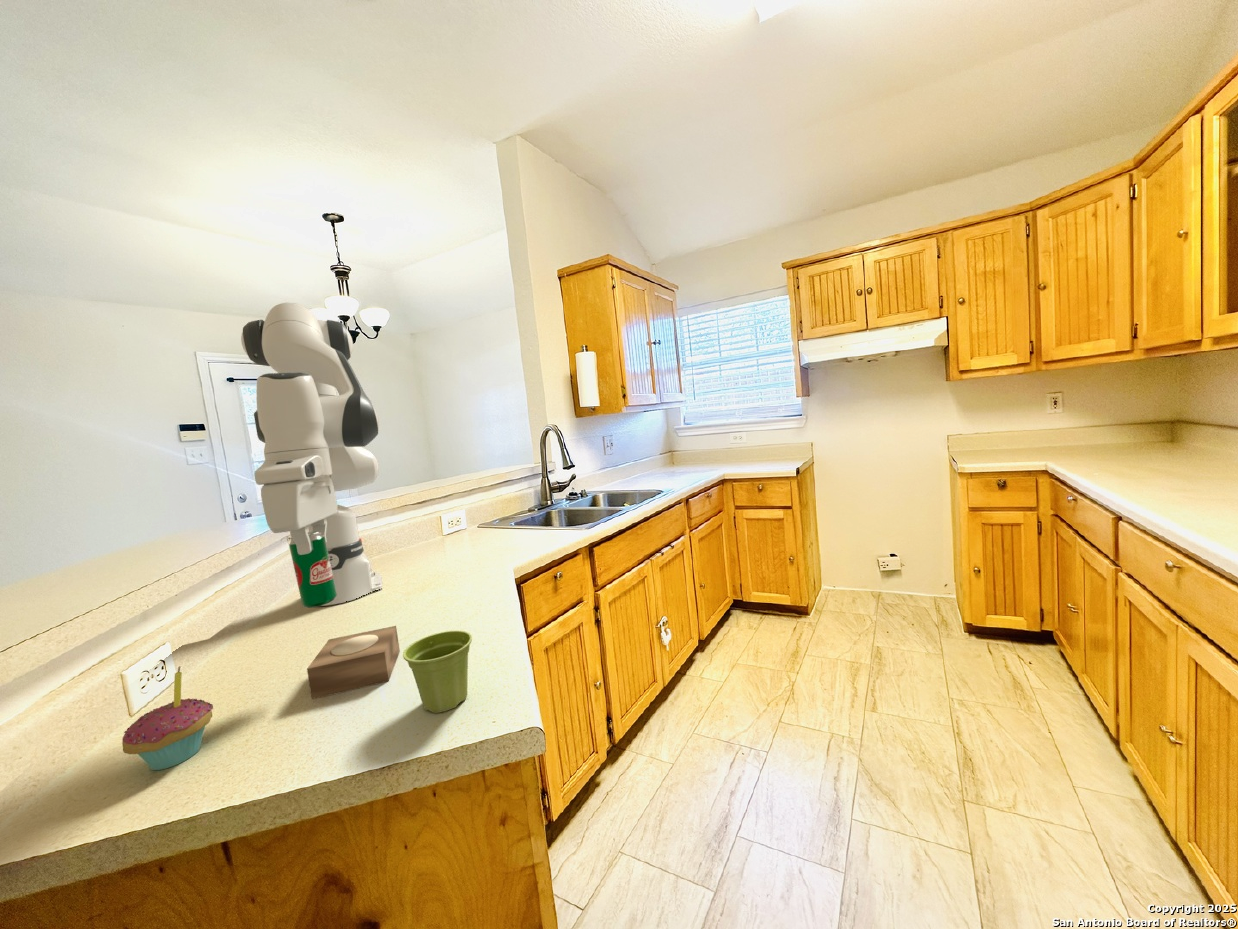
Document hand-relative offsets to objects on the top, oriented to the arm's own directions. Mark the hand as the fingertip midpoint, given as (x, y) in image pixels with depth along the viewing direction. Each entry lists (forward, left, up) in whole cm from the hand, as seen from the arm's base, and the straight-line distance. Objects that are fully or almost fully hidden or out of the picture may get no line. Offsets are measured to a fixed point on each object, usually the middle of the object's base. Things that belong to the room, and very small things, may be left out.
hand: (313, 549), depth 77 cm
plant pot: (+18, +20, -22) cm, 35 cm away
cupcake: (+15, -14, -22) cm, 31 cm away
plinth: (+2, +5, -22) cm, 23 cm away
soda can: (0, 0, -10) cm, 10 cm away
